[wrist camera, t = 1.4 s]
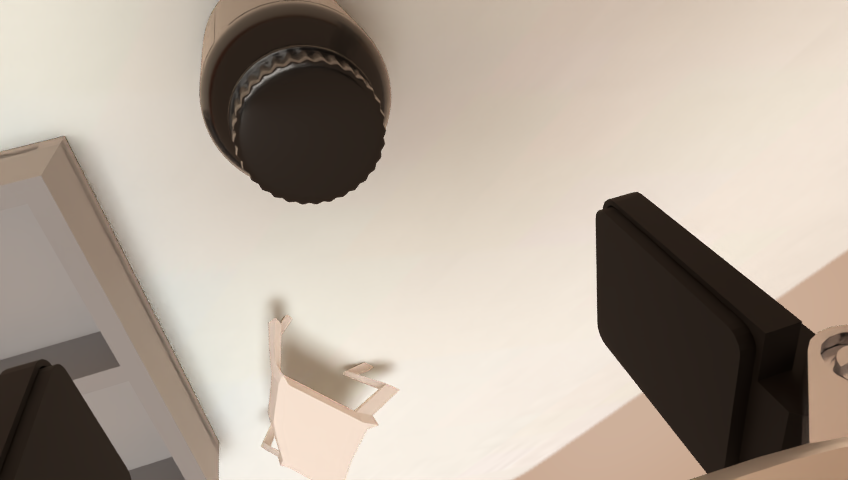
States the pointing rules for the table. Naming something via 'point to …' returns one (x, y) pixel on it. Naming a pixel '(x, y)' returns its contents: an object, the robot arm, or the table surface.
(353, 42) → the supplement bottle
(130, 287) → the divided tray
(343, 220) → the table surface
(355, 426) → the origami figure
